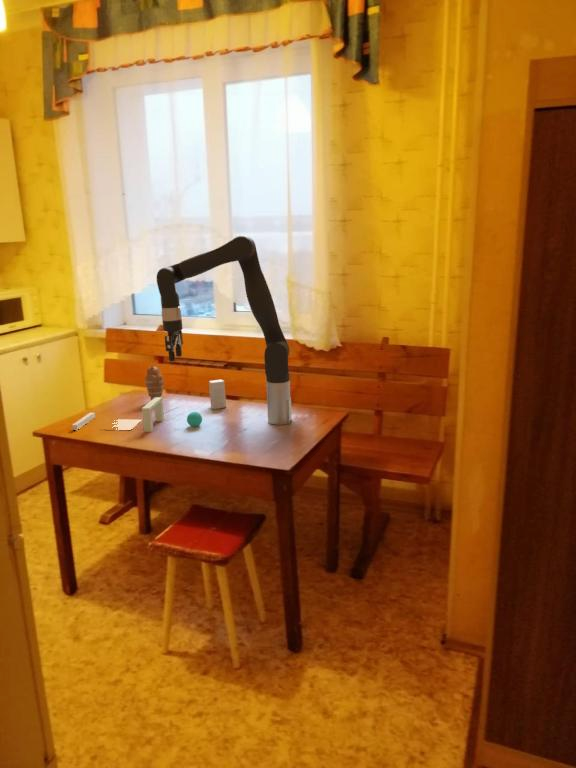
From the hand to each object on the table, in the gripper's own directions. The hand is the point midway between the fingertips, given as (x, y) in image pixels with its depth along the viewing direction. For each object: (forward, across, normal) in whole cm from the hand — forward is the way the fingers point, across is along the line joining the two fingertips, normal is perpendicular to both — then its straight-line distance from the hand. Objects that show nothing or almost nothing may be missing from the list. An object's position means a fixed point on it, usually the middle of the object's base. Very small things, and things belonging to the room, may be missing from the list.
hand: (175, 358), depth 240 cm
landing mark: (+26, -7, +23) cm, 36 cm away
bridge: (+26, -7, +9) cm, 29 cm away
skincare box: (+27, +19, -10) cm, 35 cm away
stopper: (+26, -7, +39) cm, 47 cm away
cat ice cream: (+26, +23, +20) cm, 40 cm away
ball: (+23, -7, -8) cm, 26 cm away
